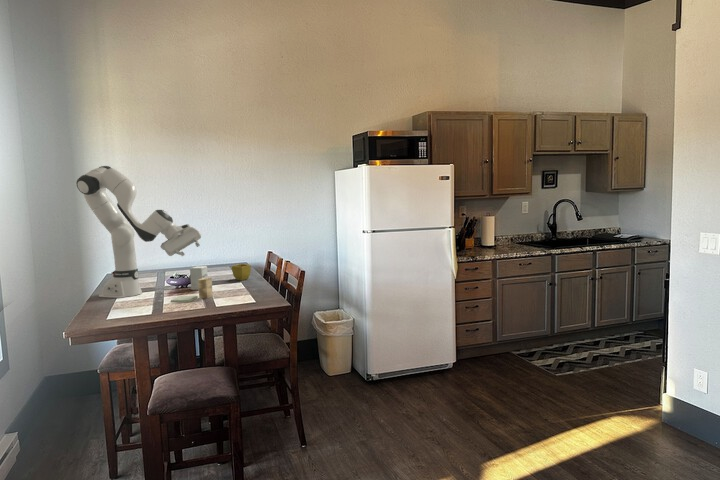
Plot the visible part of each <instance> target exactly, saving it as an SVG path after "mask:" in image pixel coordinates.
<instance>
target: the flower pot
mask: <svg viewBox="0 0 720 480" xmlns="http://www.w3.org/2000/svg"><path fill="white" fill-rule="evenodd" d="M251 268H252V264H245V263H240V264H239V263H238V264H235V265H231V272H232V275H233V277H234V279H236V281H245V280H248V279H249V278H250V275H251V270H252V269H251Z"/></svg>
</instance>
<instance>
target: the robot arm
mask: <svg viewBox="0 0 720 480" xmlns="http://www.w3.org/2000/svg"><path fill="white" fill-rule="evenodd" d="M75 182H76V187H77V189H78V190H79V192H80V193H81V194H82V195H83V197H84V199H85V201H86V203H87V205H88V206H89V208H90V210H91V211H92V212H93V214H94V215H95V216H96V218H97V220H98V221H99V222H100V223H101V224H102V226H104V228H105V229H106V230H107V231H108V232H109V234H110V236H111V244H112V253H113V258H114V270H113V271H112V272H111V275H112V277H111V278H110V279H108V281H107V282H105V284H104V285H103V287H102V293H100V294H99V295H98V298H111V299H113V298H114V299H122V298H127V297H132V296H133V297H134V296H139V295H141V294H142V293H143V291H142V288H141V286H140V281H139V271H138V270H139V269H138V267H137V266H138V265H137V256H136V247H135V240H134V239H135V238H134V237H135V233H136V234H137V236H138V237H139V238H140V240H142V241H144V242H146V243H147V242H150V243H151V242H153V241H154V240H155V239H156V237H158V235H159V234H162V235H163V236H164V237H165V238H166V239H167V240H165V241H164V242H162V243H161V245H160V249H162V251H163V250H164V252H165V253H166V254H167V256H169V257H172V256H174V255H175V254H176V255H179V256H181V257H184V256H185V252H183V251H182V250H184V249H186V248H187V247H188V246H190V245H192V244H195V247H196V248H198V247H201V246H200V242H199V241H198V240H201V238H202V234H201V232H200V231H199V230H198V229H196V228H195V227H193V226H191V225H190V224H189V223H187V224H183V225H176V222H175V221H174V220H173V217H171V215H169V214H168V212H167V211H165V210H164V209H155V210H154V211H153V212H152V213H151V214H150V215H148V217H147V218H146V219H145V220H144V221H143V222H142V223H140V221H139V220H138V219H137V217H136V216H135V215H134V213H133V211H132V207H133V203H134V201H135V199H136V196H137V187H136V186H135V184H134V183H133V182H132V181H131V180H130V179H129V178H128V177H127V176H125V174H123V173H122V172H120V171H118V170H117V169H115V168H112V167H111V166H110V165H101V166H98V167H97V168H94V169H91V170H90V171H88V172H86V173H84V174H83V175H81V176H79V178H77V180H76V181H75ZM106 190H108V191H109V192H110V193H111V194H113V195H114V197H115V198H116V201H117V203H116V205H115V204H114V202H113V201H112V200H111V198H110V197H109V195H108V193H107V191H106Z"/></svg>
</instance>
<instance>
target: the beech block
mask: <svg viewBox="0 0 720 480" xmlns="http://www.w3.org/2000/svg"><path fill="white" fill-rule="evenodd" d="M212 280H213V279H212V277H208V278H202V279H199V280H198V288H199V290H198V299H205V300H206V299H210V298H213V297H214V294H213V281H212Z"/></svg>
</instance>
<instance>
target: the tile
mask: <svg viewBox="0 0 720 480" xmlns="http://www.w3.org/2000/svg"><path fill="white" fill-rule="evenodd" d="M196 299H199V295H179V296H177V297H174V298H173V299H171V300H170V302H171V303H190V302H192V301H194V300H196Z"/></svg>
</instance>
